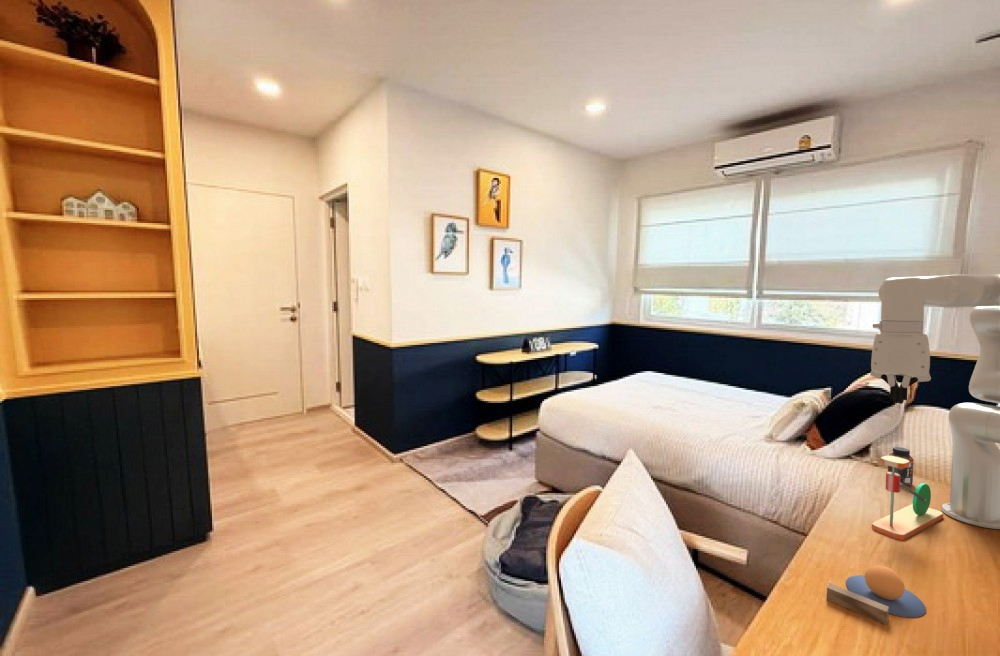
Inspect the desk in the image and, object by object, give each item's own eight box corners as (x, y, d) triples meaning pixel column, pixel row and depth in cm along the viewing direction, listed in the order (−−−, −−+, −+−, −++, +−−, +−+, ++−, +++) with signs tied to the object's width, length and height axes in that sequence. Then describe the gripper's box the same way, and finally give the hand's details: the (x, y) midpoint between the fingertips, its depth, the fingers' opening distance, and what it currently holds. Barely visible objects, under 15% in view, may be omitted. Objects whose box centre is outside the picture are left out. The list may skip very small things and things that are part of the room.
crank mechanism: (901, 541, 104) (904, 466, 103) (869, 528, 110) (871, 457, 109) (945, 517, 115) (948, 449, 114) (913, 507, 121) (916, 442, 120)
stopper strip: (888, 619, 79) (888, 606, 79) (886, 624, 78) (887, 612, 77) (829, 594, 86) (829, 583, 86) (826, 599, 84) (826, 587, 84)
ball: (889, 579, 81) (886, 608, 81) (914, 577, 82) (911, 606, 82) (858, 559, 87) (855, 587, 87) (882, 558, 88) (878, 585, 88)
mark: (900, 581, 89) (900, 580, 89) (942, 622, 78) (942, 621, 78) (834, 572, 93) (834, 571, 93) (865, 611, 81) (865, 610, 81)
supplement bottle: (915, 488, 133) (916, 453, 132) (890, 484, 136) (891, 450, 135) (909, 481, 138) (910, 447, 137) (885, 477, 141) (886, 444, 140)
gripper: (858, 327, 105) (855, 399, 106) (945, 330, 93) (941, 410, 94) (864, 326, 109) (861, 395, 110) (947, 328, 98) (943, 405, 99)
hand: (898, 402), depth 102 cm, fingers closed
